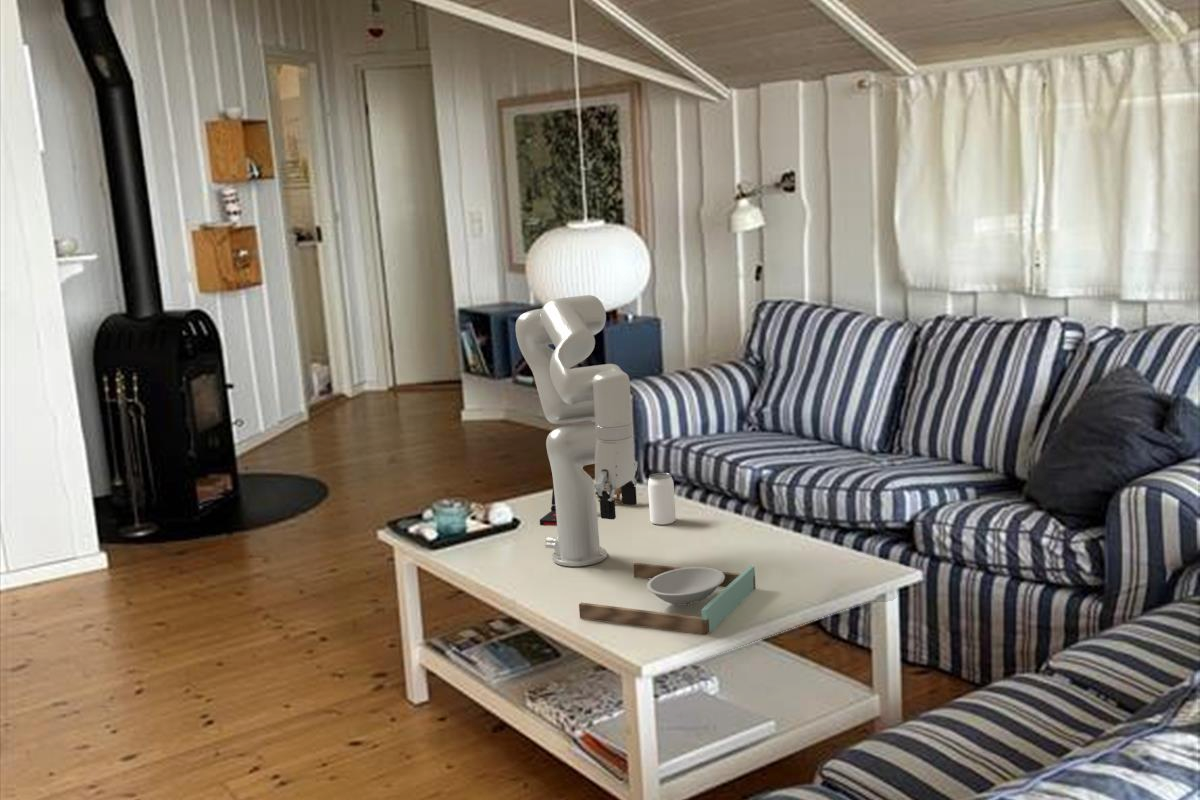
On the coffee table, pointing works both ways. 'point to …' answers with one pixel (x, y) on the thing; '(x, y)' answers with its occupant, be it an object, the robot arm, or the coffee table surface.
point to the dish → (686, 584)
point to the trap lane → (711, 614)
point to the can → (661, 499)
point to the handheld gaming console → (550, 514)
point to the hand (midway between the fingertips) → (619, 511)
